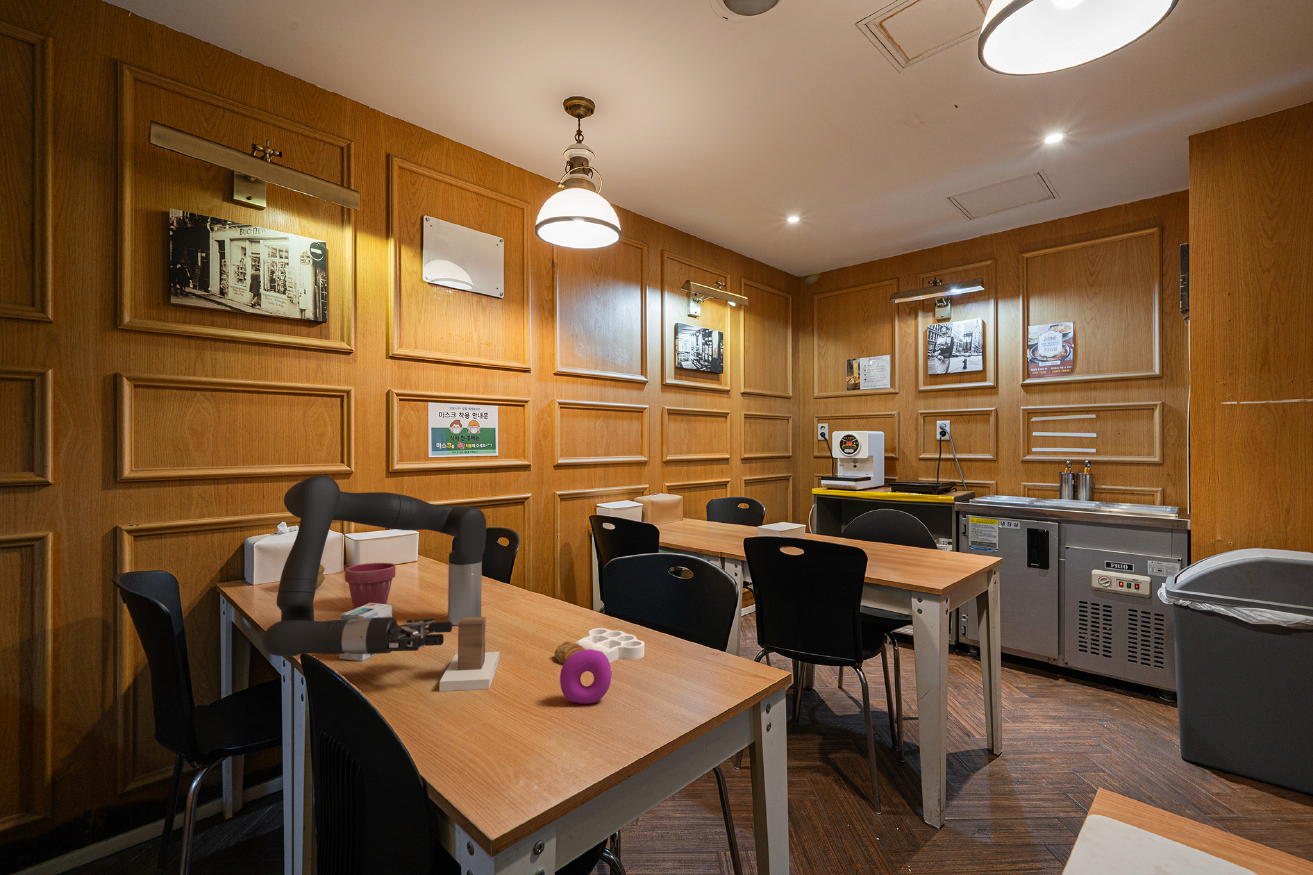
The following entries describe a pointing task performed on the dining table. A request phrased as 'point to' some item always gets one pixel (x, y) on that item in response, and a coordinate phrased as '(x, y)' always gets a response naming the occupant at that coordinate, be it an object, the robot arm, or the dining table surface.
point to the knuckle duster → (613, 644)
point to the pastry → (567, 651)
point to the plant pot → (369, 582)
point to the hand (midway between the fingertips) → (447, 632)
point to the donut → (576, 667)
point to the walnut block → (471, 643)
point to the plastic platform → (469, 675)
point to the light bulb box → (365, 612)
